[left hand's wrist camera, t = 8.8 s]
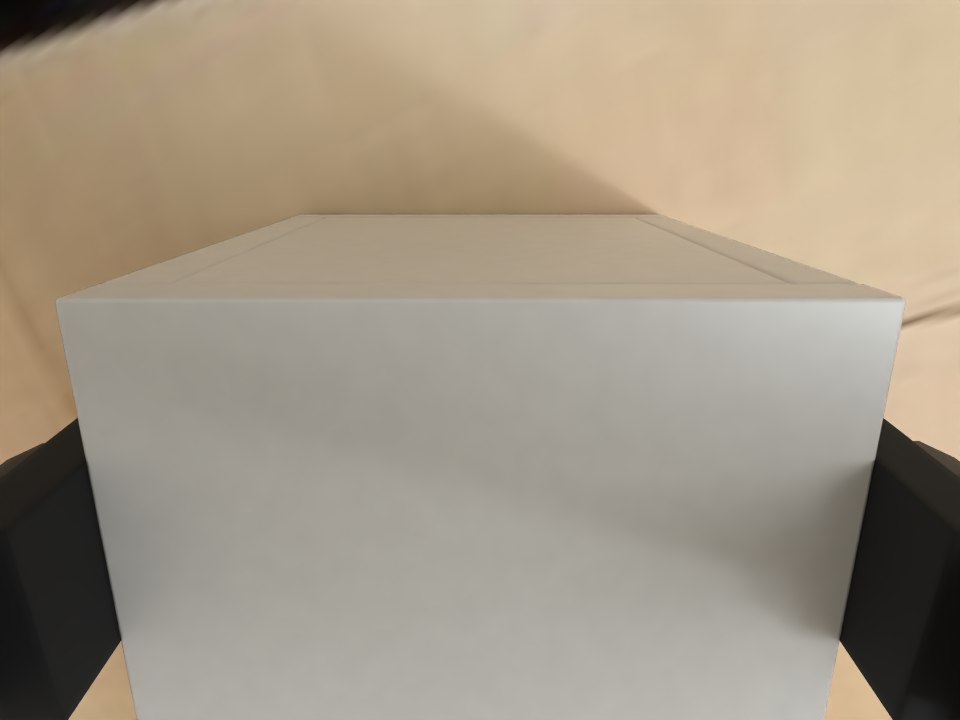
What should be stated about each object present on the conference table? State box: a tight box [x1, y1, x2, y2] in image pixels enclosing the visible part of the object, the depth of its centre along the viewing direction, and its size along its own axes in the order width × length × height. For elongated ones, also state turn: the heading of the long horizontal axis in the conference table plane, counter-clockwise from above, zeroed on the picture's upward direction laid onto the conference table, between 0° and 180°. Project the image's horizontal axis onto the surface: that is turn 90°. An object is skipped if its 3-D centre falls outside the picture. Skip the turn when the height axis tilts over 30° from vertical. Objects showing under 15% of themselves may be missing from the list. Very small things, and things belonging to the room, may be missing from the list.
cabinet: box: [55, 214, 906, 720], centre depth 16 cm, size 19×10×11 cm, turn 0°
